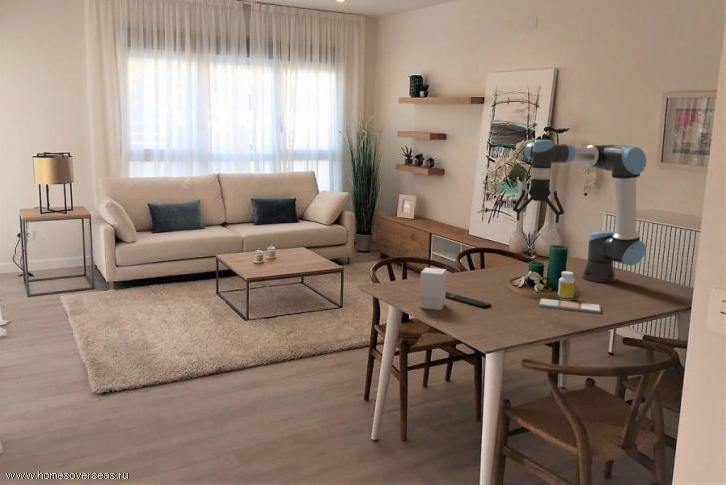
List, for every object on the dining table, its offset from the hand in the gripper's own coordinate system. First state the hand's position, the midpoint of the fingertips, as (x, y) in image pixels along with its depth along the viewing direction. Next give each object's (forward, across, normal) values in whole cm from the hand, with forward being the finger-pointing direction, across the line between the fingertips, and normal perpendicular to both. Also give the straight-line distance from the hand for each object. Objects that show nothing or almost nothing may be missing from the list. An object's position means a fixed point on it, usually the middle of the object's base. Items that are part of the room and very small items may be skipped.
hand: (536, 229), depth 264 cm
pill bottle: (+31, +13, +8) cm, 34 cm away
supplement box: (+30, -37, -25) cm, 54 cm away
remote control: (+31, -26, -12) cm, 43 cm away
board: (+30, +15, -3) cm, 34 cm away
